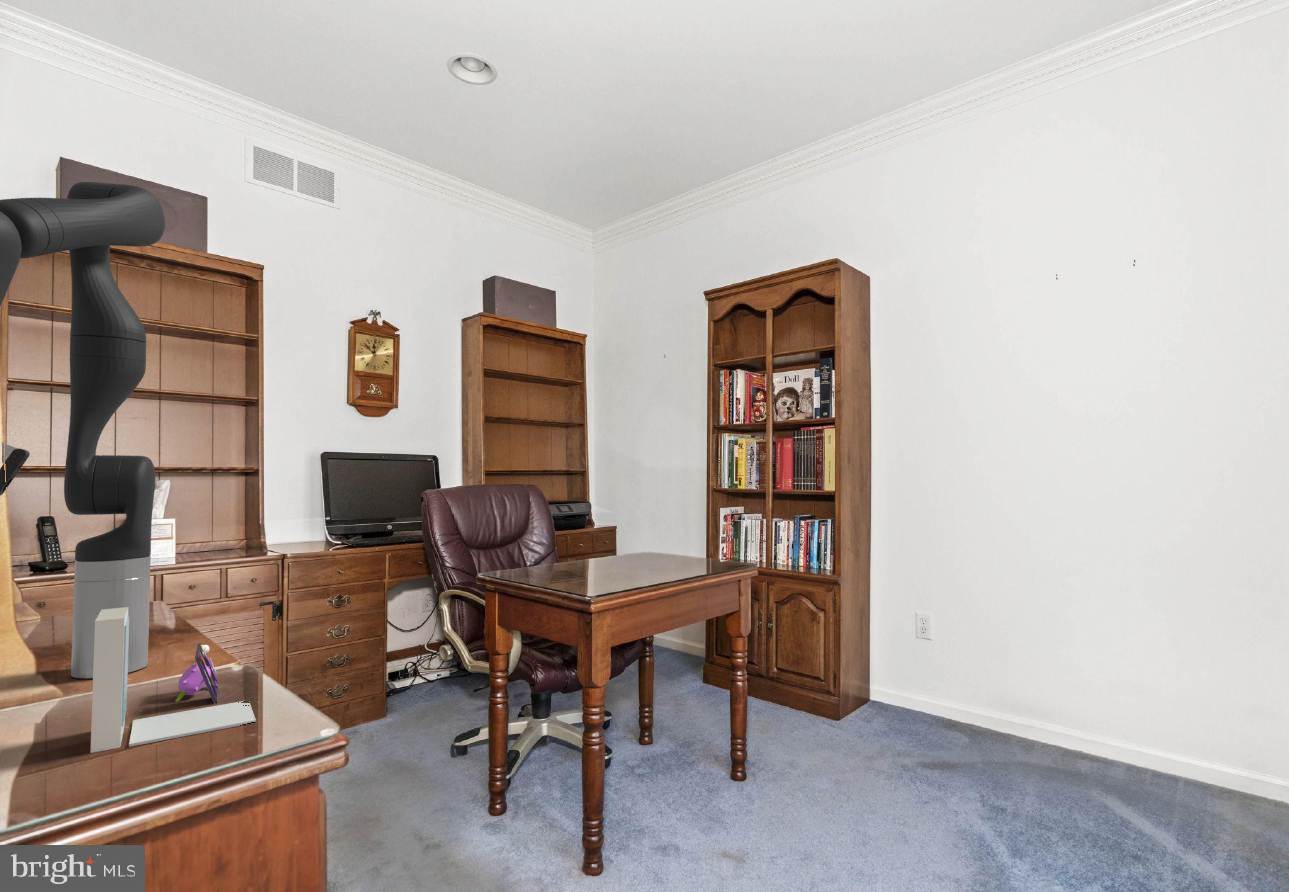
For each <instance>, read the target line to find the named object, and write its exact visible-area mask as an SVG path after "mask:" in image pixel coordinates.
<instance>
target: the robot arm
mask: <svg viewBox="0 0 1289 892" xmlns="http://www.w3.org/2000/svg"><path fill="white" fill-rule="evenodd" d="M164 212H165V211H164V209H163V207H162V205H161V203H160V201H159V199H158V198H157V197H156V195H154V194H153V193H152V192H151V191H149V190H148V189H146V188H142V187H141V186H137V185H130V184H122V183H121V184H120V183H109V182H98V181H97V182H96V181H81V182H80V181H79V182H77V183H74V184H73V185H72V186H71V187H70V189H69V191H68V194H67V197H66V198H61V197H17V198H5V199H4V198H3V199H0V307H1V305H2V304H3V301H4V299H5V297H6V294H7V293H8V290H9V287H10V285H11V283H12V280H13V278H14V275H15V273H16V271H17V268H18V265H19V263H20V261H21V259H30V258H35V257H41V256H47V255H51V254H55V253H60V252H66V251H69V261H70V274H71V275H70V276H71V312H70V313H71V314H70V315H71V317H70V318H71V319H70V332H69V376H70V377H69V382H70V383H69V384H70V385H69V386H70V387H69V389H70V390H69V391H70V411H69V412H70V414H69V415H70V416H69V426H68V427H69V428H68V437H67V438H68V440H67V446H66V447H67V448H66V457H65V458H66V459H65V465H64V466H65V467H64V478H63V479H64V481H63V495H64V496H63V497H64V503H65V505H66V508H67V509H68V512H70V513H71V514H72V515H78V516H85V515H86V516H87V515H88V516H90V515H91V516H92V515H93V516H95V515H96V516H97V515H100V516H101V515H102V516H103V515H125V519H124V521H123V522H122V523H121V524H120V525H118V526H117V527H115V528H113V529H112V530H110V531H107V532H105V533H104V532H103V533H102V534H98V535H96V536H92V537H89V538H86V539H83V540H81V541H79V542H78V543H76V546H75V550H74V576H73V577H74V578H73V579H74V582H73V584H74V585H73V606H72V607H73V611H72V634H71V635H72V638H71V639H72V640H71V661H70V664H71V666H70V676H71V677H72V678H75V679H93V666H94V637H95V620H96V618H97V617H98V615H99V613H100V612H101V610H102V609H113V608H123V607H128V616H129V646H128V673H132V672H135V671H139V670H141V669H143V668H145V667H147V666H148V665H149V664H148V662H149V661H148V660H149V659H148V658H149V656H148V655H149V637H150V636H149V633H150V632H149V631H150V629H149V628H150V600H151V599H150V595H151V562H152V561H151V558H152V557H151V556H152V555H151V554H152V549H151V548H152V522H153V519H152V518H153V507H154V499H155V490H156V489H155V488H156V469H155V465H154V463H153V461H152V460H151V458H150V457H148V456H144V455H116V454H115V455H109V454H106V455H104V454H103V455H102V454H101V455H100V454H97V447H98V443H99V440H100V437H101V436H102V432H103V431H104V429H105V427H106V426H107V424H108V422H109V421H110V420H111V418H112V417H113V415H114V414H115V413H116V412H117V410H118V409H119V408H120V406H122V405H123V403H124V402H126V400H127V399H128V398H129V397H130V396H131V394H132V393H133V392H134V391H135V390H136V388H137V387H138V386H139V385H140V383H141V382H142V380H143V378H144V377H145V374H146V370H147V369H146V368H147V367H146V366H147V334H146V330H145V327H144V325H143V323H142V321H141V319H140V318H139V316H138V314H137V313H136V311H135V310H134V309H133V306H132V305H130V303H129V301H128V300H127V299H126V297H125V296H124V294H123V293H122V291H121V290H120V288H119V287H118V284H117V283H116V280H115V278H114V276H113V271H112V265H111V257H110V256H111V255H110V252H111V251H110V249H111V246H115V247H116V246H118V247H132V248H133V247H137V248H138V247H139V248H140V247H141V248H142V247H147V246H149V247H150V246H153V245H155V244H156V243H158V242H159V241H160V240H161V238H162V237H163V236H164V233H165V229H166V218H165V213H164ZM4 444H5V464H6V482H5V470H4ZM29 457H30V452H29V450H27V449H24V448H17V447H15V446H12V445H10V444H7V443H4V442H2V463H1V464H2V465H1V466H0V497H1V496H2V495H3V494H4V493H5V492H6V490H7V489H6V487H7V488H9V486H10V485H11V483H12V482H13V481H14V479H15V478H16V476H17V474H18V473H19V472H20V470H21V469H22V467H23V466H24V465H25V463H26V462H27V460H28V459H29Z"/></svg>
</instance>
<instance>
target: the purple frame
mask: <svg viewBox="0 0 1289 892" xmlns="http://www.w3.org/2000/svg"><path fill="white" fill-rule="evenodd" d="M209 651H210V646H209V645H208V644H202V643H201V642H199V643H197V645H196V651H195V655H194V659H195V662H196V663H192V664H190V666H188V667H187V668H186V670H185V671H184V672H183V673H182V675H181V676H180V678H179V681H178V684H177V686H178V690H179V691H180V693H179V695H177V697H176V699H175V702H176V703H178V702H180V701H181V700H182V698H183V697H184V696H185V695H187V696H189V695H194V694H196V693H197V692H199V691H200V690H201V689H202V688H203V687H204V686H206V688H207V691H208V692H209V696H210V698H211V700H212V702H213V704H214V703H215V704H217V703H216V702H217V698H218V699H219V689H218V687H220V685H219V683H218V675H217V670H216V668H215V666H214V663H213V661H212V658H211V657H210V658H209V657H208V656H207V654H208V653H209ZM216 685H217V686H216Z"/></svg>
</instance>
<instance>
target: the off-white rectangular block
mask: <svg viewBox="0 0 1289 892" xmlns="http://www.w3.org/2000/svg"><path fill="white" fill-rule="evenodd" d="M128 646H129V616H128V607H123V608H113V609H102V610H101V612H100V613H99V615H98V617H97V618H96V620H95V637H94V666H93V678H92V702H91V704H92V705H91V724H90V725H91V728H90V729H91V731H90V732H91V733H90V754H93V753H99V752H104V751H108V750H115V749H119V748H121V747H122V742H123V736H124V732H125V731H124V730H125V725H126V724H125V723H126V714H127V707H128V706H127V704H128V678H129V677H128V674H129V672H128Z"/></svg>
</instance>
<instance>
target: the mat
mask: <svg viewBox="0 0 1289 892" xmlns="http://www.w3.org/2000/svg"><path fill="white" fill-rule="evenodd" d="M243 701H244V700H241V701H236V702H230V703H224V704H218V705H213V706H207V707H201V708H195V709H190V710H185V711H178V712H173V713H172V712H171V713H168V714H161V715H156V716H155V715H154V716H149V717H143V718H138V719H133V720H132V724H131V726H132V727H131V733H130V737H129V742H128V747H129V748H131V747H135V746H140V745H146V744H151V743H156V742H162V741H166V740H167V741H168V740H172V739H178V738H183V737H187V736H193V735H198V734H203V733H209V732H214V731H219V730H225V729H230V728H234V727H240V725H241V726H243V725H242V724H246V725H248V724H247V723H251V722H256V723H257V719H256V717H255V714H254V711H253V708H252V705H251V702H250V703H241V702H243ZM238 702H239V703H238ZM243 705H244V706H243ZM245 705H247V706H245ZM248 705H249V706H248ZM251 724H252V723H251Z"/></svg>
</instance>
